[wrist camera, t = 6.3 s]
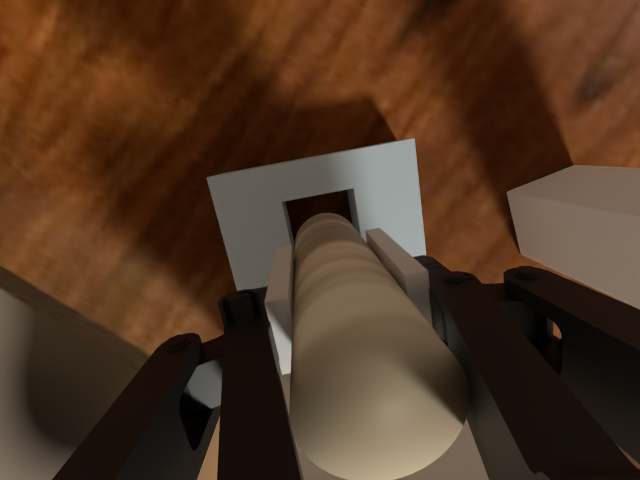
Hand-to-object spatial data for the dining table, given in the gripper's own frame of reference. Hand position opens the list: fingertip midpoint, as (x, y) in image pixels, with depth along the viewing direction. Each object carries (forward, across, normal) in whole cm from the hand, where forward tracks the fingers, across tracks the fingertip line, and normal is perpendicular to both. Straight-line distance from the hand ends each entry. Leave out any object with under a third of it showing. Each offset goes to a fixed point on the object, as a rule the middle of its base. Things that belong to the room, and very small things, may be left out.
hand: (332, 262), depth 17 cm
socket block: (+10, 0, -2) cm, 10 cm away
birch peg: (+4, 0, 0) cm, 4 cm away
